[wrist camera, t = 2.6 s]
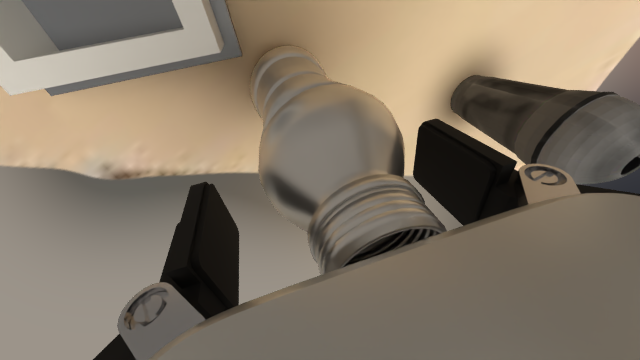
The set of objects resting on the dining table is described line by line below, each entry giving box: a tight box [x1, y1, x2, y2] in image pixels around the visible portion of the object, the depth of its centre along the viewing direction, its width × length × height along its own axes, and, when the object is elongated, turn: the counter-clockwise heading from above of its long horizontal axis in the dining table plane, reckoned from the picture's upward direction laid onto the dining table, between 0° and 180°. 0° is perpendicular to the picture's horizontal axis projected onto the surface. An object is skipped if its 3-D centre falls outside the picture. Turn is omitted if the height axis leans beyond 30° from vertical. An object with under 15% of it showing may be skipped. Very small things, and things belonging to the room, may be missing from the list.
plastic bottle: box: [250, 45, 447, 275], centre depth 14 cm, size 6×7×20 cm
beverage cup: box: [451, 76, 640, 184], centre depth 20 cm, size 7×7×20 cm
